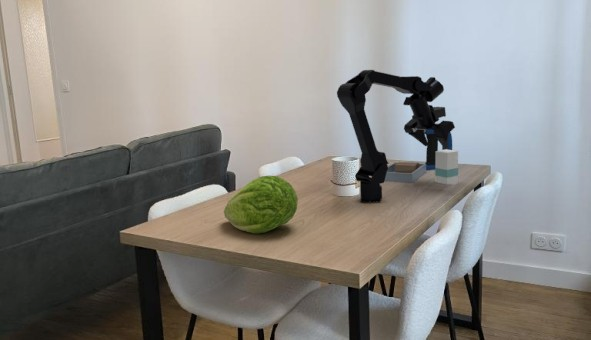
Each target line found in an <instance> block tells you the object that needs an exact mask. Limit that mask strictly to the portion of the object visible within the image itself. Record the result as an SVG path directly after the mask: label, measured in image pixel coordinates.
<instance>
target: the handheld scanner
mask: <svg viewBox="0 0 591 340" xmlns="http://www.w3.org/2000/svg"><path fill="white" fill-rule="evenodd" d="M439 123H440V122H435V124H439ZM451 132H452V131H451ZM451 132H449V134H448V148H447V150H453V136H452V133H451ZM424 134H425V137H426V139H427V143H428V145H427V146H426V160H425V162H424V164H426V171H433V170H435V162H436V151H439V141H438V140H437V138H436V135H435V133H434V130H429V129H428V130H424ZM441 148H442V149H441V150H446V149H445V148H444V147H443V146H442V145H441Z"/></svg>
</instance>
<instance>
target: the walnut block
mask: <svg viewBox="0 0 591 340" xmlns="http://www.w3.org/2000/svg"><path fill="white" fill-rule="evenodd" d="M419 163H420V162H413V161H412V162H411V161H410V162H409V161H408V162H407V161H399V162H397V164H395V173H412V172H414V171H415V170H416V169H418V168H419Z"/></svg>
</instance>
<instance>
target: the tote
mask: <svg viewBox="0 0 591 340" xmlns="http://www.w3.org/2000/svg"><path fill="white" fill-rule="evenodd" d="M397 163H398V162H397V161H396V162H393V163H391V164H388V170H387V173H386V177H385V181H384V182H387V183H388V182H389V183H392V182H393V183H406V184H413V183H414V182H416V181H417V180H418V179H419V178H421V177H422V176H423V175H425V174H426V173H427V170H426V164H425V163H421V162H418V163H419V168H418V169H416V170H415V171H414V172H412V173H395V164H397Z"/></svg>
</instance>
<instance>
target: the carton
mask: <svg viewBox="0 0 591 340" xmlns="http://www.w3.org/2000/svg"><path fill="white" fill-rule="evenodd" d="M434 170H435V171H434V173H435V174H434V175H435V176H434V177H435V179H434V180H435V183H437V184H443V185H450V186H455V185H458V184H459V183H458V182H459V181H458V179H459V178H458V177H459V176H458V175H459V150H453V149H452V150H447V149H446V150H442V149H439V150H438V151H436V162H435V169H434Z"/></svg>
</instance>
